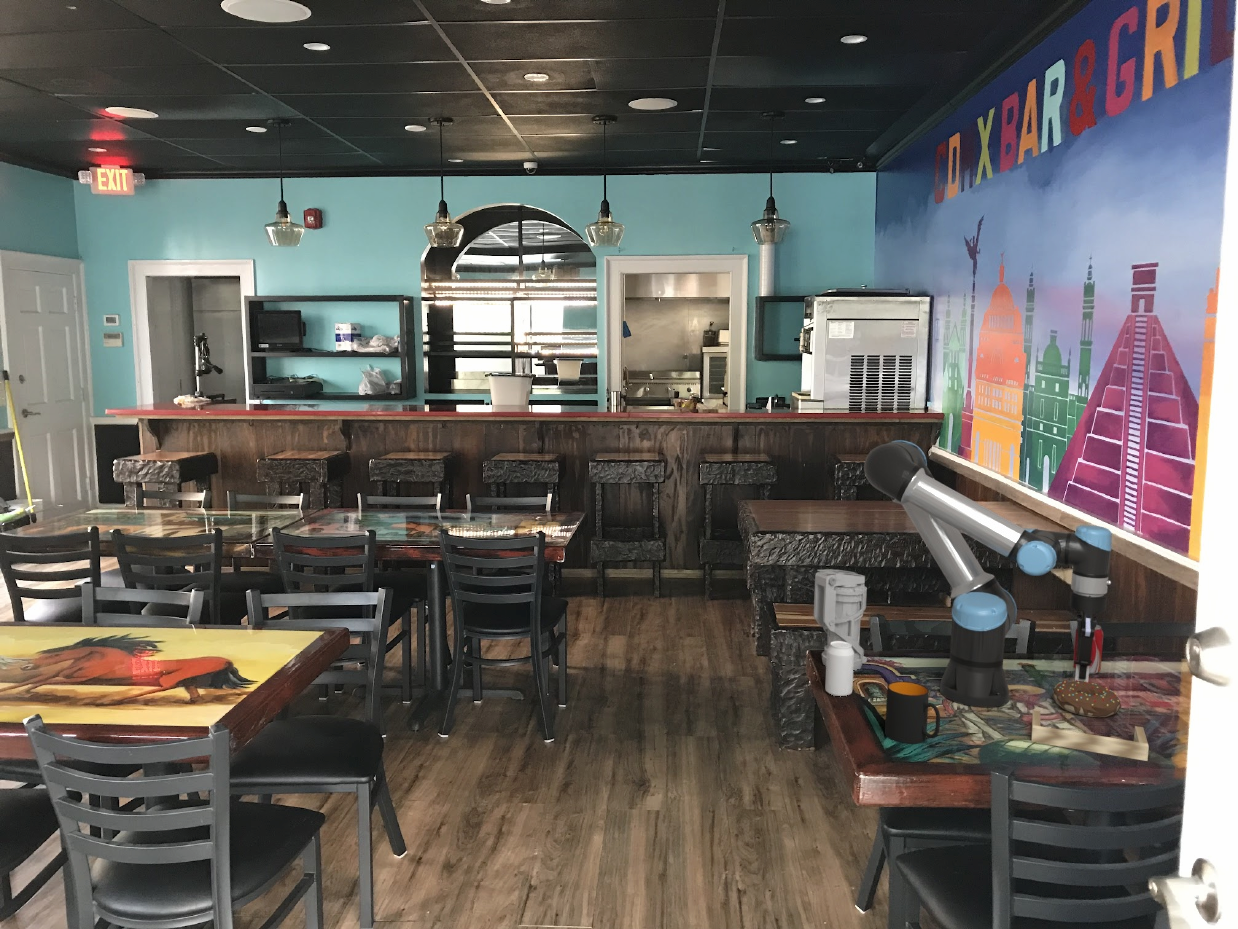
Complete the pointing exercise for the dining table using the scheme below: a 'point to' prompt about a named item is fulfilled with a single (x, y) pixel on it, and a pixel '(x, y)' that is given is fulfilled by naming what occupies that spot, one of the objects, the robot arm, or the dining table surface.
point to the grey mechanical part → (840, 609)
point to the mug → (908, 713)
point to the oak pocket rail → (1091, 741)
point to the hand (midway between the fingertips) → (1080, 690)
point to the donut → (1086, 698)
